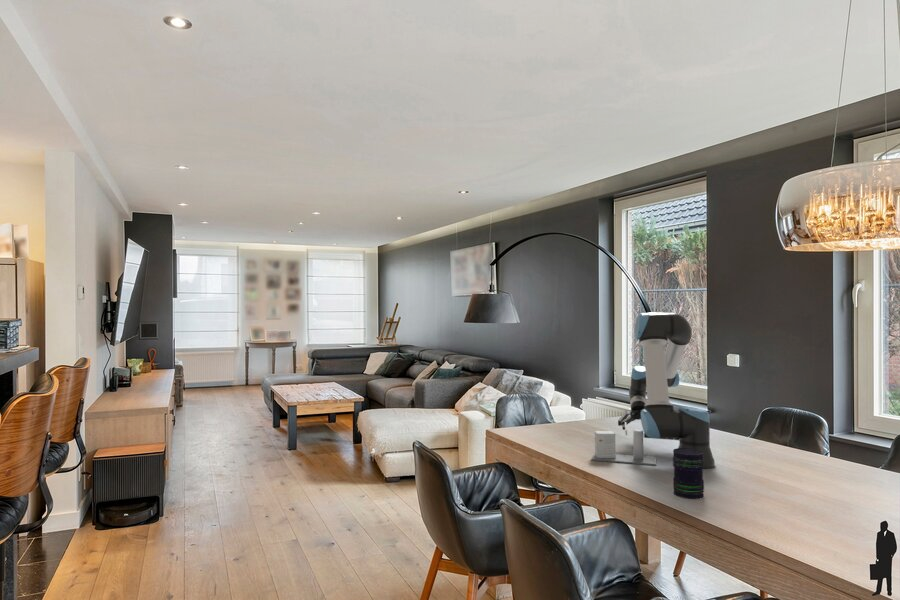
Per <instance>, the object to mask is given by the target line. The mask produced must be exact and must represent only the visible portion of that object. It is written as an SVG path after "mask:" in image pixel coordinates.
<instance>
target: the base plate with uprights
mask: <svg viewBox="0 0 900 600" xmlns="http://www.w3.org/2000/svg"><path fill="white" fill-rule="evenodd" d="M632 433H633V435H632V436H633V438H632V439H633V440H632V441H633V445H632V446H633V454H631V455H630V454H621V453H620V454H618V453H616V458H597V457H596V455H595V452H593V454H592V457H591V458H590V459H591V461H593V460H596V461H597V462H606V461H608V462H607V463H618V462H619V464H631V463H632V464H633V465H646V466H657V457H656V456H648V455H647V456H645V455H644V430H643V429H633V431H632ZM596 461H595V462H596Z"/></svg>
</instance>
